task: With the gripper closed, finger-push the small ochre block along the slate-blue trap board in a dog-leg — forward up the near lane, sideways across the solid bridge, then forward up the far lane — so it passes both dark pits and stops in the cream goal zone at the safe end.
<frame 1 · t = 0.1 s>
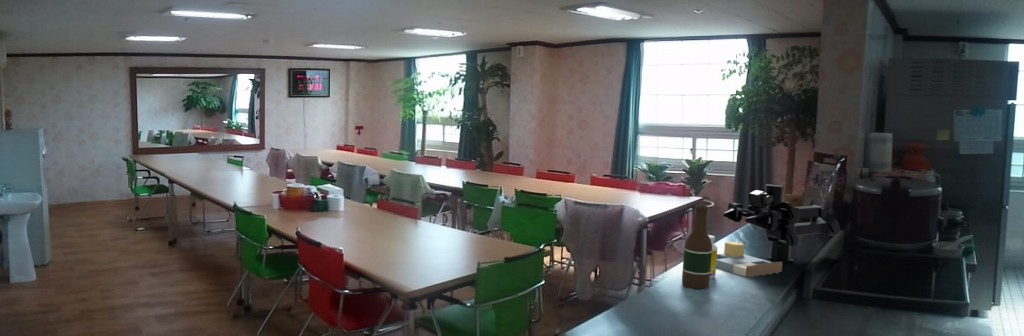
hand: (734, 217, 218), 17 cm above the worktop, tool horizontal, fingers open, 9 cm apart
block: (733, 255, 226), point 2 cm above the worktop, touching trap board
beer bottle: (695, 286, 194), on the worktop
supplement bottle: (703, 277, 205), on the worktop
trap board: (740, 267, 219), on the worktop
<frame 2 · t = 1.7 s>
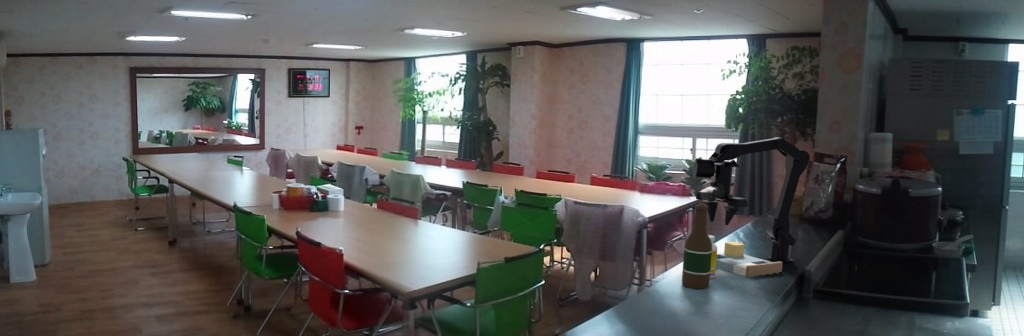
hand: (719, 223, 231), 12 cm above the worktop, tool pointing down, fingers open, 6 cm apart
nothing on the worktop moved.
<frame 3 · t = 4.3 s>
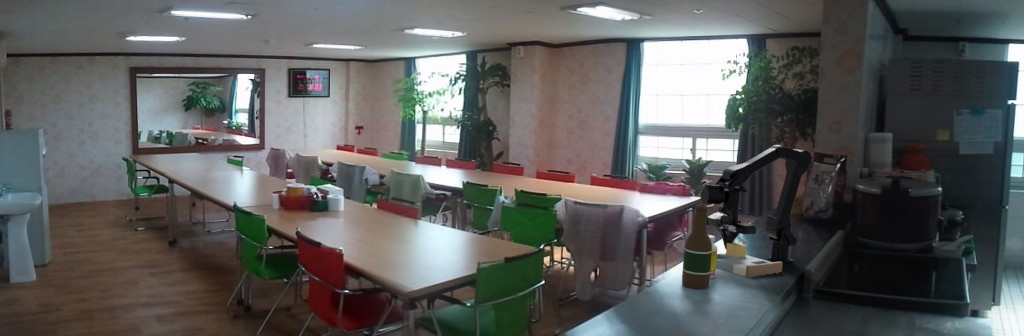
hand: (727, 249, 228), 4 cm above the worktop, tool pointing down, fingers closed
block: (735, 255, 225), point 2 cm above the worktop, touching gripper, trap board
everything else where it was.
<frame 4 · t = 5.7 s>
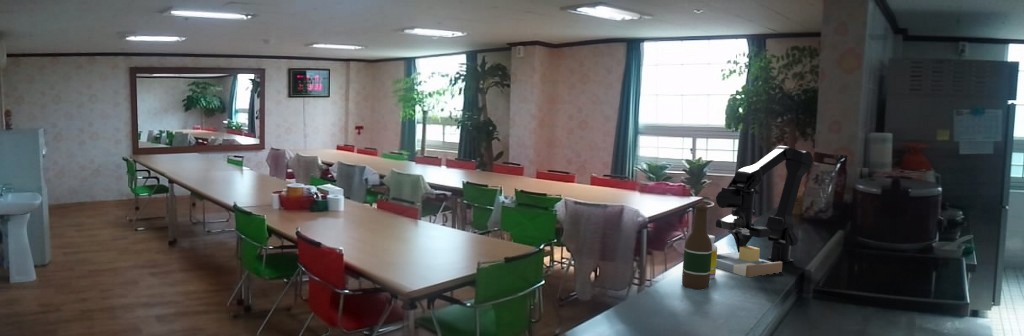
hand: (739, 252, 224), 4 cm above the worktop, tool pointing down, fingers closed
block: (748, 259, 220), point 2 cm above the worktop, touching gripper, trap board
everything else where it was.
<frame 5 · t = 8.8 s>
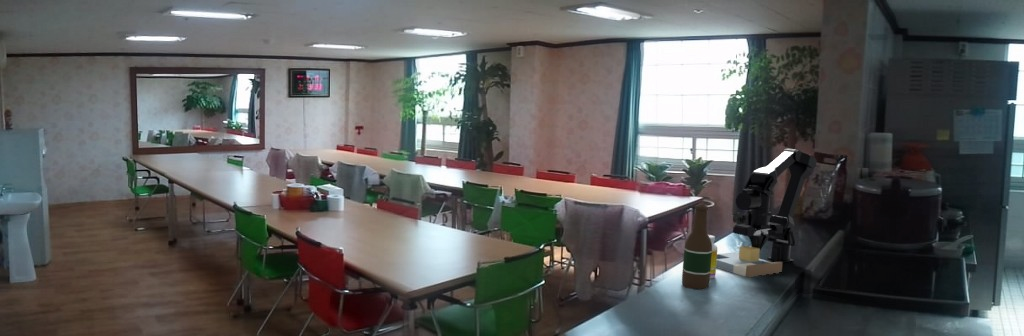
hand: (755, 254, 223), 4 cm above the worktop, tool pointing down, fingers closed
block: (748, 259, 220), point 3 cm above the worktop, touching gripper
everything else where it was.
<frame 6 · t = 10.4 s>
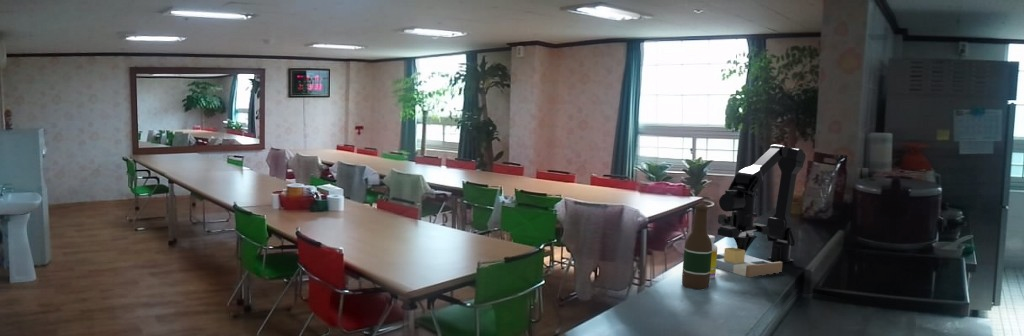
hand: (741, 255, 219), 4 cm above the worktop, tool pointing down, fingers closed
block: (733, 261, 217), point 2 cm above the worktop, touching gripper, trap board
everything else where it was.
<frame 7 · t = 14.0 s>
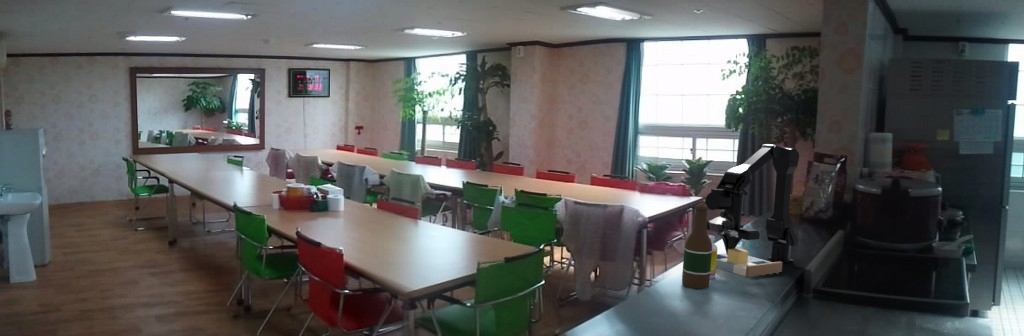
hand: (728, 255, 219), 4 cm above the worktop, tool pointing down, fingers closed
block: (737, 262, 215), point 3 cm above the worktop, touching gripper
everything else where it was.
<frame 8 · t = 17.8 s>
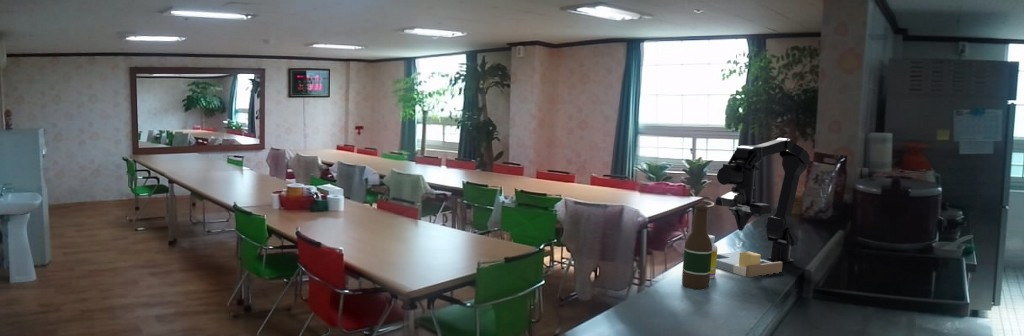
hand: (740, 230, 220), 12 cm above the worktop, tool pointing down, fingers closed
block: (749, 265, 211), point 2 cm above the worktop, touching trap board
everything else where it was.
at the end: block 0.6 cm from the target spot, point 2.5 cm above the worktop; block tilted 0° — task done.
